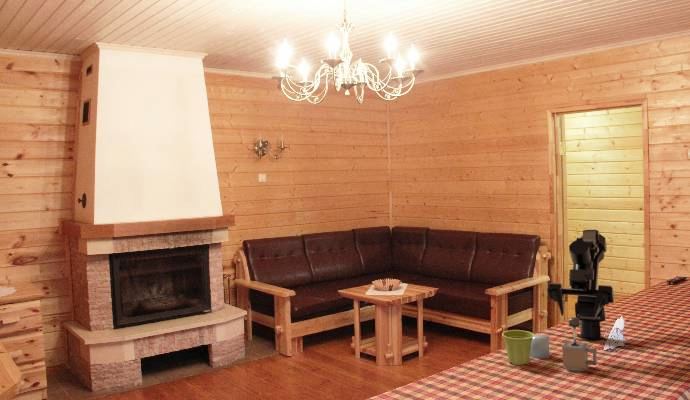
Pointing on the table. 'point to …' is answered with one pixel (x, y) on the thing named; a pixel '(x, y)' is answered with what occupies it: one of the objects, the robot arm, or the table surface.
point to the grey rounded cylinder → (540, 347)
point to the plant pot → (518, 346)
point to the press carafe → (577, 356)
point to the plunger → (574, 327)
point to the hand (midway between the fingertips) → (577, 316)
